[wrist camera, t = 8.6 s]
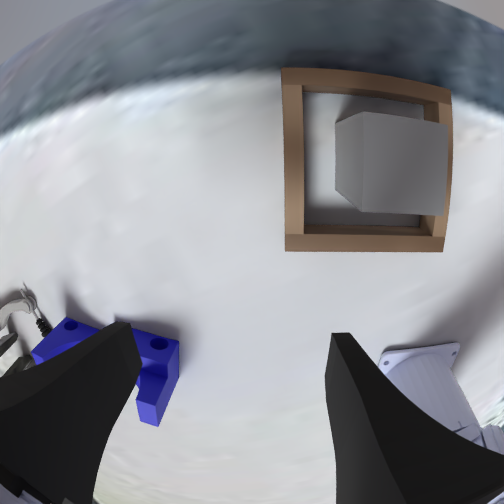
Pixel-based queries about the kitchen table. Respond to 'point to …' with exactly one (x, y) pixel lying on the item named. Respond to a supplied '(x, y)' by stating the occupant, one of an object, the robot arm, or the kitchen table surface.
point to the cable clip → (152, 372)
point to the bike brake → (8, 340)
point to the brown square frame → (296, 231)
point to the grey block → (392, 163)
